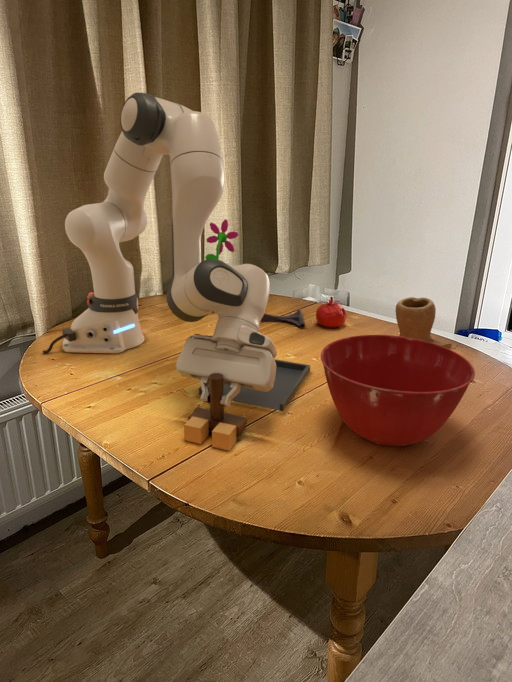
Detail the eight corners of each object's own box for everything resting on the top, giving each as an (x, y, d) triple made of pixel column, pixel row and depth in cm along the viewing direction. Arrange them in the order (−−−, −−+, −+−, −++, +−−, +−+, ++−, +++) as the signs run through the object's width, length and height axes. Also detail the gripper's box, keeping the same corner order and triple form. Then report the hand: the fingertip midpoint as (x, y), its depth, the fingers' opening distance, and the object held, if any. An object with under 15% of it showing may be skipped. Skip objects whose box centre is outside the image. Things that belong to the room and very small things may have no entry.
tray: (236, 361, 132) (236, 353, 131) (309, 373, 126) (310, 365, 125) (198, 397, 113) (198, 388, 112) (282, 414, 106) (283, 404, 106)
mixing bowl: (335, 386, 119) (340, 325, 113) (463, 410, 109) (475, 344, 103) (298, 448, 95) (302, 374, 89) (459, 486, 84) (474, 405, 79)
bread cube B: (193, 431, 100) (192, 416, 98) (208, 435, 98) (208, 419, 97) (184, 440, 97) (183, 424, 95) (200, 444, 95) (200, 428, 94)
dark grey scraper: (257, 313, 169) (257, 305, 168) (301, 314, 169) (301, 306, 168) (257, 328, 156) (257, 320, 155) (305, 329, 156) (305, 320, 155)
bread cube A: (220, 437, 98) (219, 422, 96) (236, 441, 96) (236, 425, 95) (212, 447, 95) (211, 431, 93) (229, 450, 93) (228, 434, 92)
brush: (188, 427, 100) (185, 375, 95) (197, 417, 103) (195, 367, 99) (239, 438, 96) (238, 385, 92) (247, 428, 99) (246, 376, 95)
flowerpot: (244, 304, 179) (245, 219, 168) (226, 315, 167) (225, 224, 156) (209, 299, 184) (208, 216, 173) (189, 310, 172) (186, 221, 161)
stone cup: (382, 349, 141) (388, 298, 135) (401, 338, 149) (407, 290, 144) (434, 364, 132) (443, 310, 126) (451, 351, 140) (460, 300, 134)
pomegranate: (321, 331, 154) (322, 302, 151) (310, 321, 163) (311, 293, 160) (350, 329, 156) (353, 300, 153) (338, 319, 165) (340, 291, 162)
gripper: (183, 326, 102) (161, 389, 97) (278, 340, 95) (259, 408, 90) (194, 339, 107) (173, 399, 103) (284, 353, 101) (267, 418, 96)
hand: (214, 403), depth 96 cm, fingers closed on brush, 3 cm apart
